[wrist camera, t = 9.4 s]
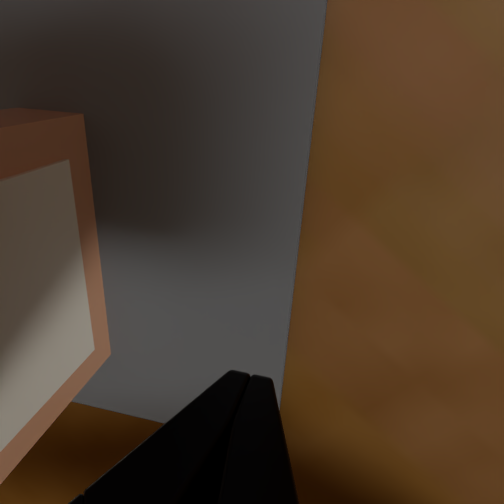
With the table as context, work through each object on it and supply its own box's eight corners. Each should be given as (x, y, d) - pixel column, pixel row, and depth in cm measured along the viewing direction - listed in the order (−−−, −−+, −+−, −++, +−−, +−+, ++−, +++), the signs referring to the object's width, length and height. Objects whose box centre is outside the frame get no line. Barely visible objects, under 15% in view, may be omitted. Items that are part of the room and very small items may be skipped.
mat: (276, 440, 15) (274, 449, 14) (-90, 354, 17) (-99, 361, 17) (337, -84, 8) (336, -90, 8) (-255, -82, 11) (-276, -87, 11)
